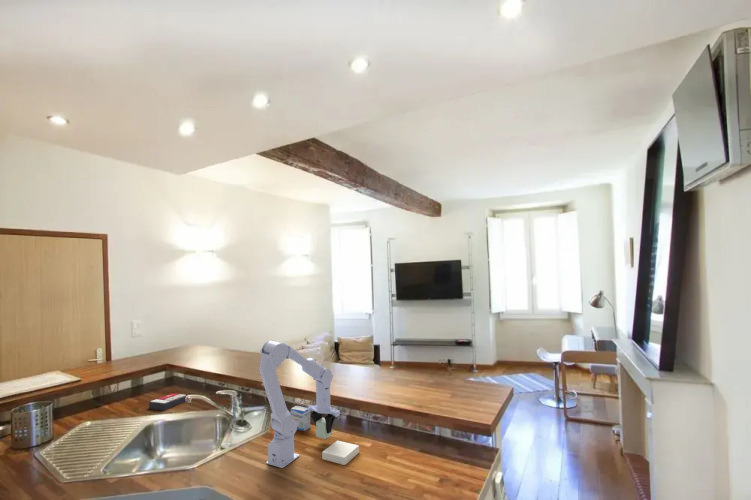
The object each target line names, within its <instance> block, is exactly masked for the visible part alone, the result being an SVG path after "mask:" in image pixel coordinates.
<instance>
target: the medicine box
mask: <svg viewBox="0 0 751 500" xmlns="http://www.w3.org/2000/svg"><path fill="white" fill-rule="evenodd" d="M290 413H291V415H292V418H293V419H294V420H295V421H296V422H297V430H298V431H303V432H305V431H307V430H309V429H310V428H311V412H309V411H308V407H304V406H298V405H295V406H292V407H291V408H290ZM297 430H296V431H297Z"/></svg>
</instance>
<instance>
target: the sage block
mask: <svg viewBox="0 0 751 500" xmlns="http://www.w3.org/2000/svg"><path fill="white" fill-rule="evenodd" d="M332 433H333V432H332V430H331V432H330V433H329V434H327V430H326V421H325V418H324V417H322V418H321V419H320V420H318V421H316V426H315V437H316V438H319V439H324V440H326V439H327V438H329V437H330V436H331V435H333V434H332Z"/></svg>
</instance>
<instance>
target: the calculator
mask: <svg viewBox="0 0 751 500" xmlns="http://www.w3.org/2000/svg"><path fill="white" fill-rule="evenodd" d="M186 396H187V394H179V393H170V394H167V395H164V396H161V397H158V398H156V399H154V400H153V399H152V400H150V401H149V402H148V409H149V410H154V411H155V410H157V411H163V412H164V411H167V410H169V409H171V408H173V407H175V406H177V405H178V406H179V405H180V404H183V403H185V402H186V401H185V397H186Z"/></svg>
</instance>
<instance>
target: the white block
mask: <svg viewBox="0 0 751 500" xmlns="http://www.w3.org/2000/svg"><path fill="white" fill-rule="evenodd" d="M321 453H322V454H321V455H322V456H321V457H322V460H324V461H327V462H333V463H336V464H339V465H342V466H345V465H347V464H348V463H349V462H350V461H351V460H352V459H354V458H355V457H356V456H357V455H358V454H359V453H360V445H358V444H355V443H350V442H345V441H341V440H335V442H333V443H332V444H330V446H328V447H327V448H325V449H324V450H323V451H322V452H321Z"/></svg>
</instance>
